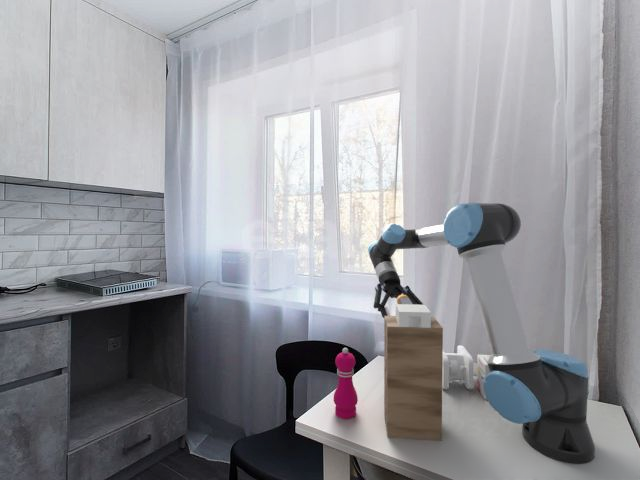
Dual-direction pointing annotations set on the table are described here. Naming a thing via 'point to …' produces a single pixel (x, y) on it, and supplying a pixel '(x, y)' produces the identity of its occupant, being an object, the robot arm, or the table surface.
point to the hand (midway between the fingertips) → (407, 326)
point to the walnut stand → (413, 380)
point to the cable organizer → (457, 368)
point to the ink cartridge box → (482, 372)
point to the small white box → (412, 313)
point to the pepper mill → (345, 386)
